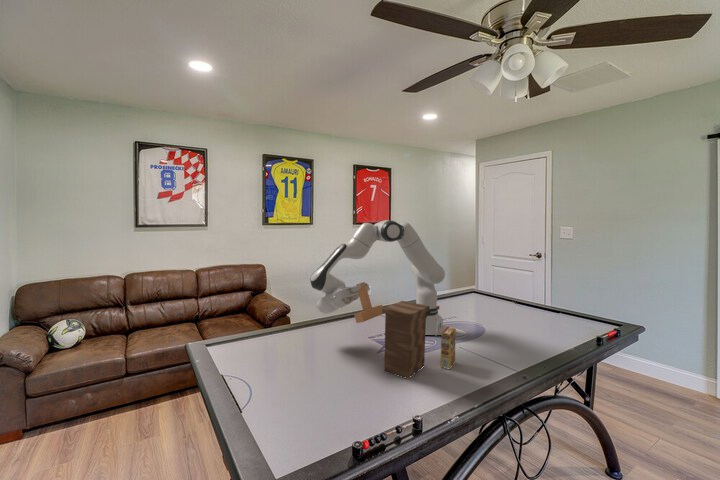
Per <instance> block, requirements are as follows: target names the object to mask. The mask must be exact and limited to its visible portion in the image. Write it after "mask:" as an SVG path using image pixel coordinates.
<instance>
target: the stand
mask: <svg viewBox="0 0 720 480" xmlns="http://www.w3.org/2000/svg"><path fill="white" fill-rule="evenodd" d="M427 311H429V306H427V305H422V304H416V302H411V301H410V302H409V301H405V300H401V301H399V302H395V303H392V304H390V305H388V306H387V305H386V306H385V307H383V308H382V313H384V314H385V316H384V317H385V318H384V319H385V322H384V358H383V359H384V360H383V362H384V364H383V367H384V368H383V371H384V372H386V373H388V372H389V374H391V373H392V375H394V374H396V375H395V376H397V375H399V376H398V377H400V376H402V377H401V378H403V377H406V378H409V377H410V376H412V375H413V374H414V373H416V372H417V371H418V370H419V369H421V368H422V367H423V366H424V367H425V357H426V356H425V353H426V336H425V329H426V312H427ZM424 367H423V368H424ZM423 368H422V369H423ZM422 369H421V370H422ZM419 371H420V370H419ZM419 371H418V372H419ZM418 372H417V373H418ZM417 373H416V374H417ZM414 375H415V374H414ZM414 375H413V376H414ZM413 376H412V377H413ZM406 378H405V379H406ZM410 378H411V377H410ZM410 378H409V379H410Z"/></svg>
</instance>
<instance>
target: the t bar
mask: <svg viewBox="0 0 720 480" xmlns="http://www.w3.org/2000/svg"><path fill="white" fill-rule="evenodd" d="M365 283H366V282H365V281H363V282H358V283H357V284H355V286H358V285H362V288H361V289H359V290H358V294H359V301H360V304H361V305H360V306H361V307H362V311H358V312H356V313H354V314H353V315H354V318H355V323H356V324H359V323H363V322H366V321H369V320H371V319H374V318H376V317H379V316H381V315H383V314H385V313H382V308H384V307H383V304H380V305H376V306H372V303H371V298H370V295H369V291H367V288H366V284H365Z"/></svg>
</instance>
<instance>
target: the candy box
mask: <svg viewBox="0 0 720 480" xmlns="http://www.w3.org/2000/svg"><path fill="white" fill-rule="evenodd" d="M456 328H457V327H451V326H447V327H446V328H445V329H444V330H443V332H441V338H440V368H441V367H445V368H450V367H451V366H452V365H453V366H454V364H455V363H456V339H457V338H456V336H457V335H456V334H457V333H456V332H457V330H456ZM454 362H455V363H454ZM453 363H454V364H453ZM453 366H452V367H453ZM452 367H451V368H452ZM445 368H444V369H445ZM451 368H450V369H451Z"/></svg>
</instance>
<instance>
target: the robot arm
mask: <svg viewBox="0 0 720 480" xmlns="http://www.w3.org/2000/svg"><path fill="white" fill-rule="evenodd" d="M376 241H381V242H385V243H387V242H389V243H392V242H396V241H397V243H398V244H399V246H400V248H401V250H402V251H403V253H404V254H405V256H406V258H407V260H408V261H409V262H410V263H411V264H412V265H411V267H410V268H411V273H412V276H413V279H414V284H415V290H416V294H415V295H416V296H415V297H416V299H415V303H416V304H422V305H427V306H429V311H427V312H426V329H425V335H435V336H437V335H441V332H443V330H444V329H445V328H446V327H448V326H447V325H445V324H444V323H443V322H444V320H443V317H442V316H441V315H440V314H439V310H440V305H438V292H437V289H436V287H435V284H440V283H442V282H443V281H444V279H445V276H446V272H445V271H446V270H445V269H444V268H443V266H441V265H440V264H439V263H438V261H437V260H436V259H435V258H434V256H433V255H432V254H431V253H430V252H429V251H428V249H427V248H426V246H425V244H424V243H423V241H422V240H421V237H420V235H419V234H418V233H417V231H416V230H415V229H414V228H413V226H412V225H411V224H410V223H409V222H401V223H398V222H397V221H395V220H388V219H386V220H385V219H384V220H380V221H376V222H375V223H374V224H373V223H370V222H363V223H362V224H361V225H360V226H359V227H358V228H357V229H356V230H355V232H354V233H353V235H352V236H351V237H350V240H348V241H347V242H346V243H342V244H339V245H338V246H337V247H336V248H335V249H334V251H332V253H330V255H329V256H328V258H326V260H325V261H324V262H323V263H322V264H321V265H320V266H319V267H318V268H317V269H316V270H315V271H314V272H313V273H312V274H311V276H310V279H309V281H310V284H311V287H312V288H313V289H315V290H316V291H320V292H321V293H323V296H322V297H321V298H320V299H318V301H317V302H316V308H317V309H318V311H319V312H320V313H321V314H324V315H329V314H332V313H334V312H336V311H338V310H339V309H342V308H344V307H346V306H348V305H350V304H351V303H353V302H355V301H356V300H358V299H360V297H359V294H358V290H359V289H361V288H362V285H358V286H356V285H353V286H346V284H345V282H344V281H343V280H341V279H340V278H338V277H336V276H335V275H333V274H332V273H330V272H331V271H332V270H333V268H334V267H335V266H337V264H338V262H339V261H340V260H342V259H351V260H361V259H363V258H364V257H366V255H368V253H369V252H370V250H371V248H372V247H373V245H374V243H375V242H376ZM365 284H366V288H367V291H368V292H369V291H370V289H371V288H370V286H369V284H368V283H367V282H365Z"/></svg>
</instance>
